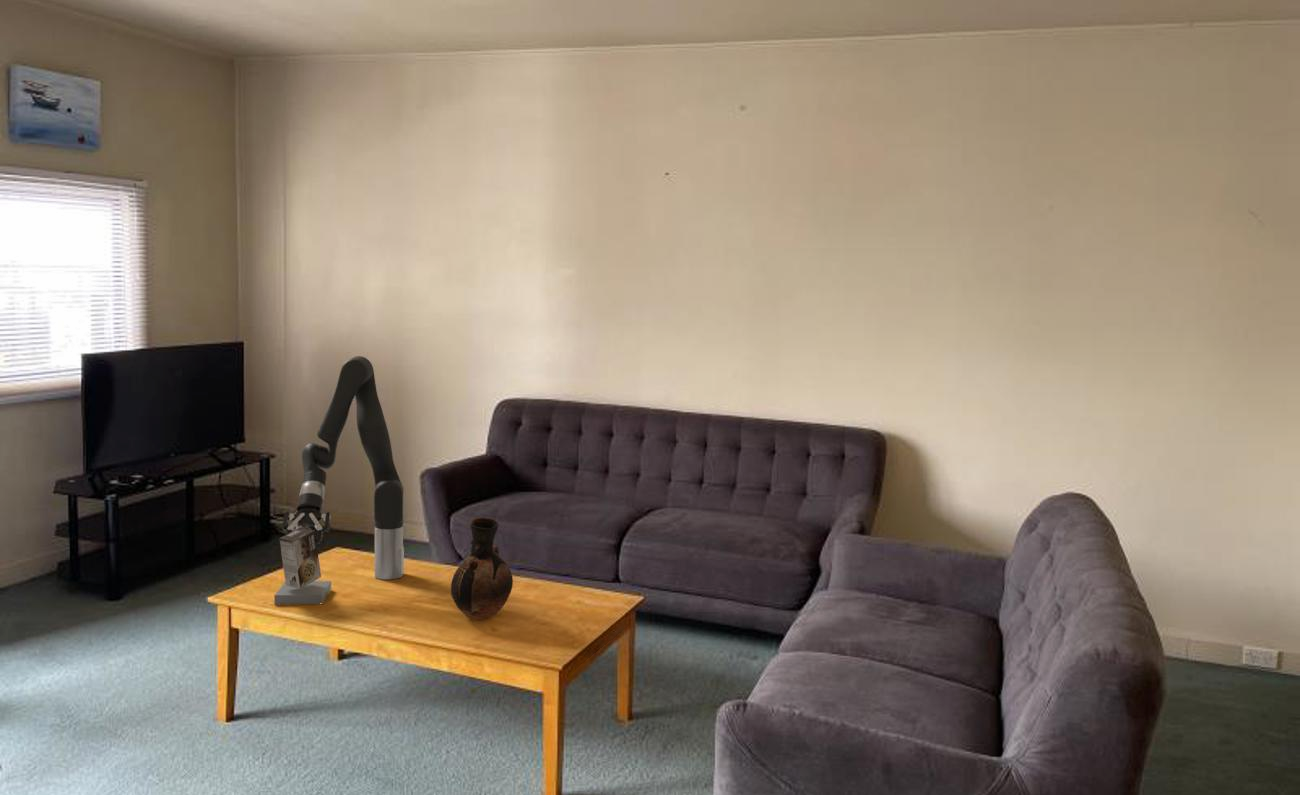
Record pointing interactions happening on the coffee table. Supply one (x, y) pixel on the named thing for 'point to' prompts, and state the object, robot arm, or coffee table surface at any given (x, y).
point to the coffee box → (300, 558)
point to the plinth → (303, 593)
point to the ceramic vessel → (482, 574)
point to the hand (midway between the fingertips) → (303, 542)
